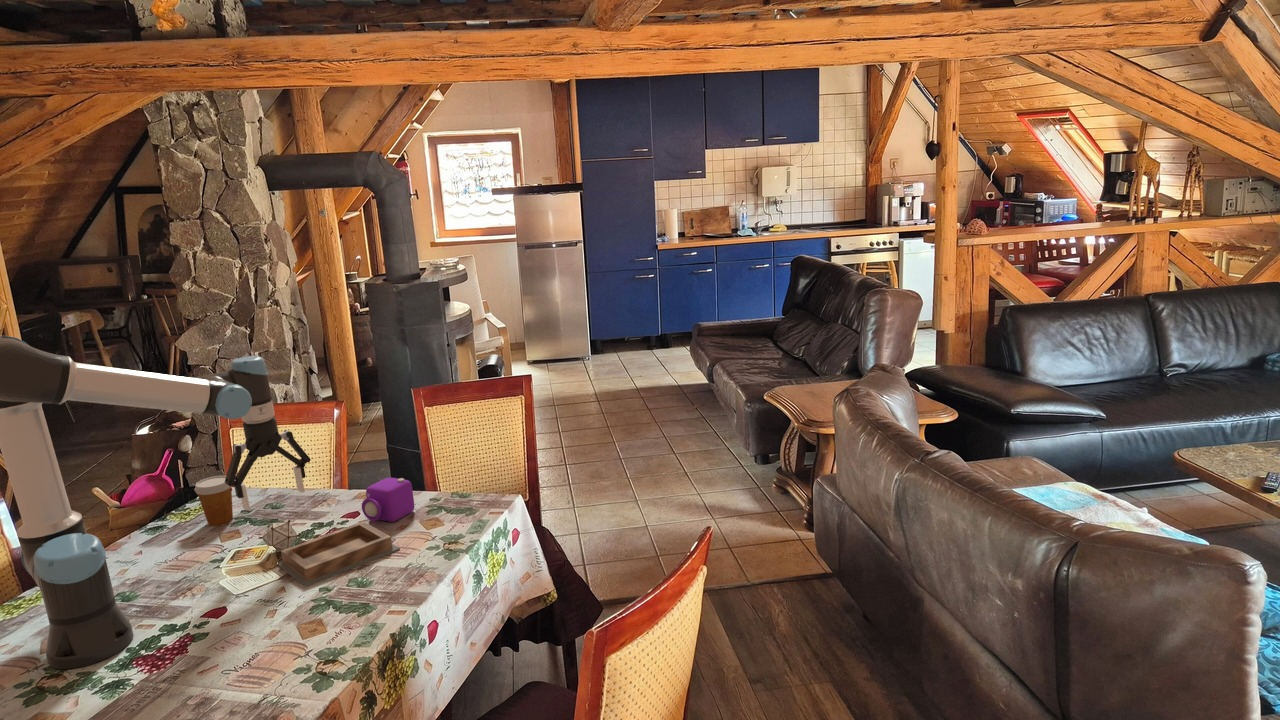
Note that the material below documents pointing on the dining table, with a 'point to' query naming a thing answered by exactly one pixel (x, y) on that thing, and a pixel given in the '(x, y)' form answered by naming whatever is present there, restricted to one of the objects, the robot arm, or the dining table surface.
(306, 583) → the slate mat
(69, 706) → the dining table surface
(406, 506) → the toy camera
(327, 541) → the brown wooden tray
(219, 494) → the disposable coffee cup
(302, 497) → the dining table surface
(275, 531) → the game die
